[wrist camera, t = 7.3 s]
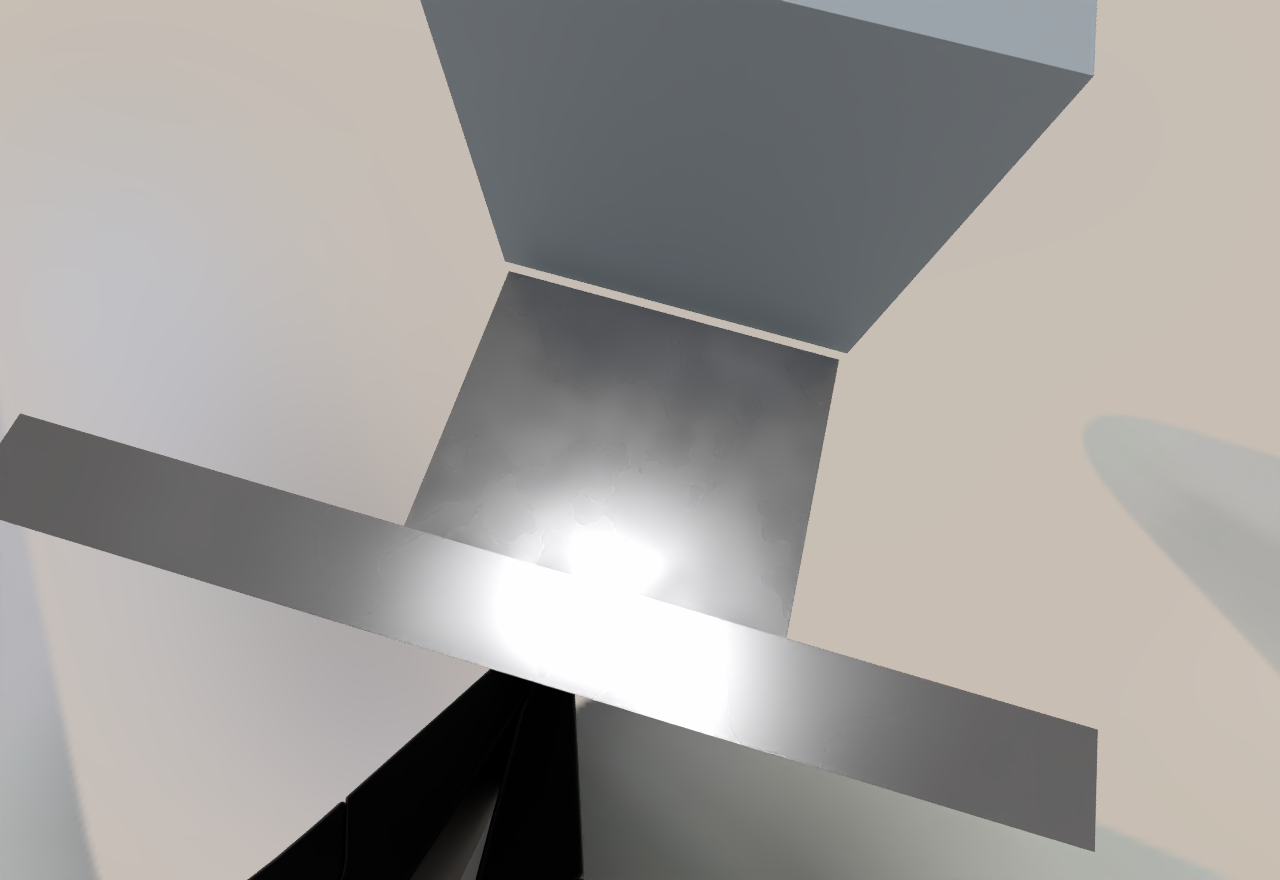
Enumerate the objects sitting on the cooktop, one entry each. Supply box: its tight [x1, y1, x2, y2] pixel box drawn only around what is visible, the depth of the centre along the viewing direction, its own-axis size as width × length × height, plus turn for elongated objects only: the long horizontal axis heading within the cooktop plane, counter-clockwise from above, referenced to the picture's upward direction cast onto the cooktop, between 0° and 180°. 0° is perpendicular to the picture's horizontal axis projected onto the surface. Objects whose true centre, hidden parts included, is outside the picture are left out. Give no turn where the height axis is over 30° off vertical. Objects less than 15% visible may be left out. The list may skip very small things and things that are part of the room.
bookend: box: [0, 271, 1098, 852], centre depth 12 cm, size 10×11×11 cm
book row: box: [421, 0, 1097, 353], centre depth 16 cm, size 11×12×10 cm
